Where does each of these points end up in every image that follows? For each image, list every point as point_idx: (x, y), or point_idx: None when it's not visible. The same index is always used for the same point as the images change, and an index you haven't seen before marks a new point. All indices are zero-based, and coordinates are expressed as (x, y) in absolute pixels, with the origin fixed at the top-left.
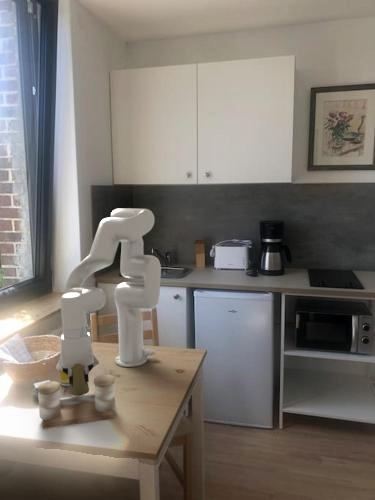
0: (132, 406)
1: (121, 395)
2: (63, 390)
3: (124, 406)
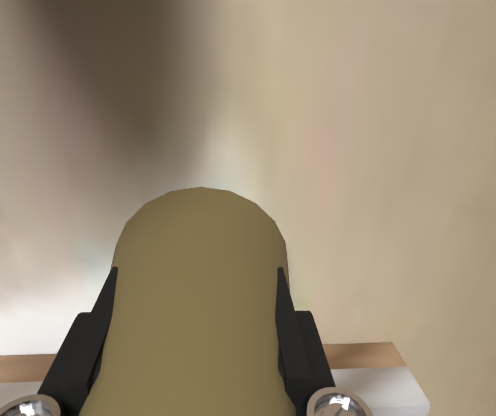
0: (483, 402)
1: (485, 281)
2: (37, 53)
3: (446, 395)
